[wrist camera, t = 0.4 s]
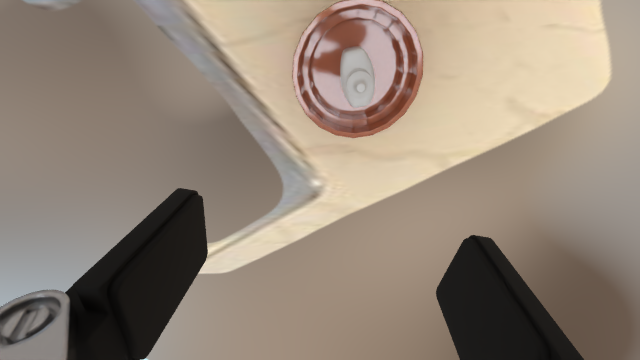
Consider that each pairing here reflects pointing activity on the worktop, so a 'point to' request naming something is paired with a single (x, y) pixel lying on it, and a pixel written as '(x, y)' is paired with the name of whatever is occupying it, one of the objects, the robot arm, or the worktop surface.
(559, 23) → the worktop surface
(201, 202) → the robot arm
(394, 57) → the bowl
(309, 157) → the worktop surface
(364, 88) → the eye dropper bottle
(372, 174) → the worktop surface
